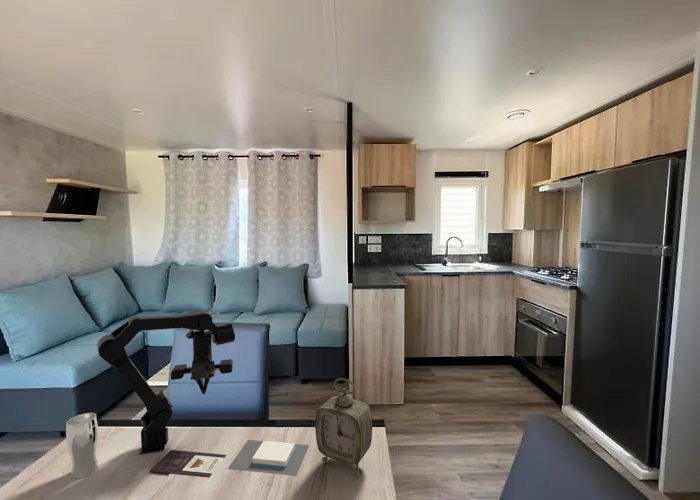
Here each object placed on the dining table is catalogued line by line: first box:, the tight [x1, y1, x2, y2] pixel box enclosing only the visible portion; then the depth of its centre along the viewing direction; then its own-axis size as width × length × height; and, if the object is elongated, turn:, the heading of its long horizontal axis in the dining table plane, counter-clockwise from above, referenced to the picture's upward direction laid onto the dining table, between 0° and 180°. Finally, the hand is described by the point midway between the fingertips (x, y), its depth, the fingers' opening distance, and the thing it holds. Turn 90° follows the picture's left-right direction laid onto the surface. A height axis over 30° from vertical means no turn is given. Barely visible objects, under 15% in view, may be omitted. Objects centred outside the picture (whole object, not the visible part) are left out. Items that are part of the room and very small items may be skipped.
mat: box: [227, 439, 310, 476], centre depth 99 cm, size 20×13×1 cm, turn 81°
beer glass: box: [65, 412, 99, 479], centre depth 94 cm, size 7×7×15 cm
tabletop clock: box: [314, 377, 373, 477], centre depth 96 cm, size 14×9×25 cm, turn 62°
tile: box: [252, 440, 296, 468], centre depth 99 cm, size 2×8×10 cm
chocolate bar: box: [148, 449, 227, 478], centre depth 97 cm, size 9×1×18 cm
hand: (204, 393), depth 114 cm, fingers closed
